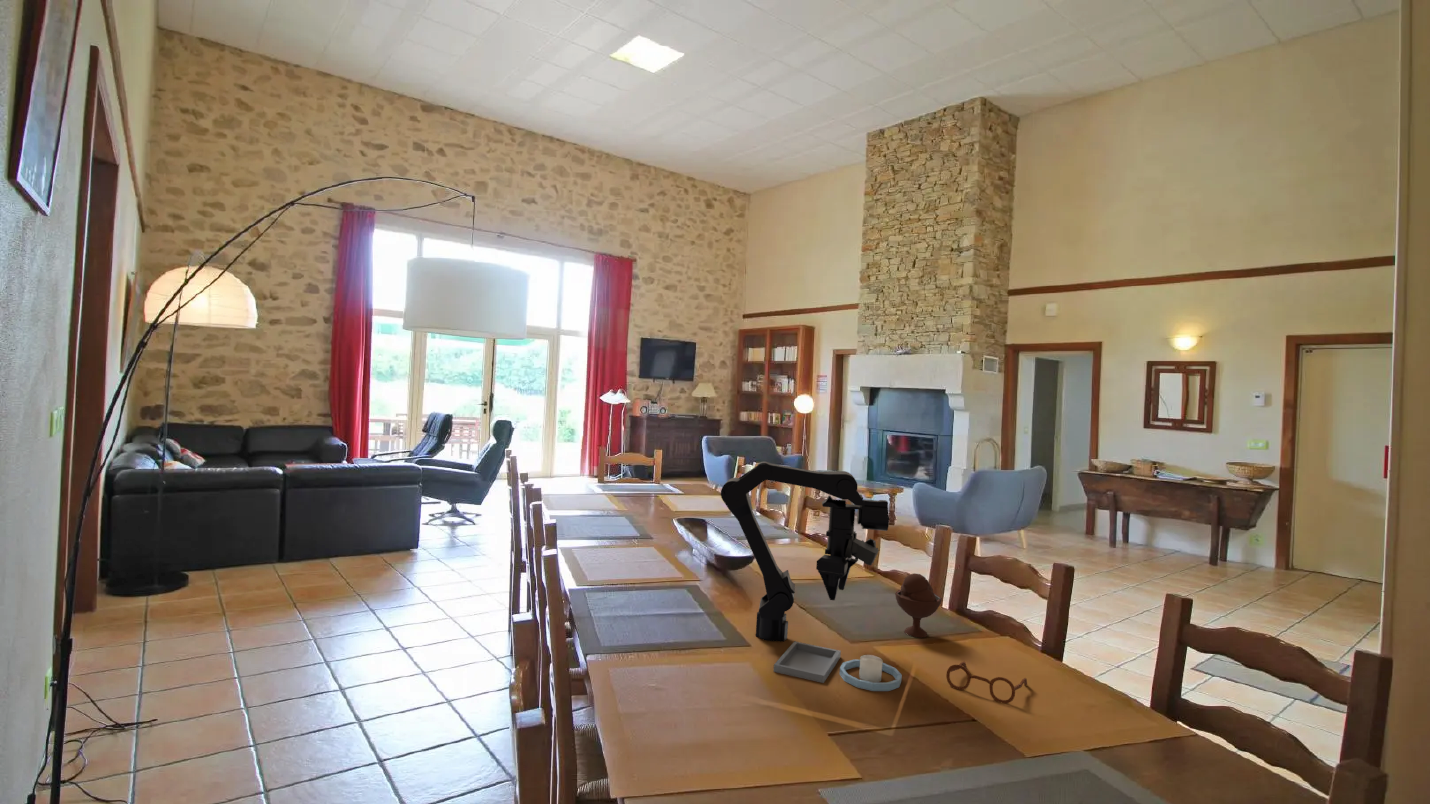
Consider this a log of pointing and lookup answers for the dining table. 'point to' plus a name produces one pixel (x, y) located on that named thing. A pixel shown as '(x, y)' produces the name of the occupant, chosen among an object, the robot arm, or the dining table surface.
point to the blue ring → (870, 685)
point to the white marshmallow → (870, 668)
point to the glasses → (963, 667)
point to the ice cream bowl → (917, 601)
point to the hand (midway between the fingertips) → (837, 594)
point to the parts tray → (807, 661)
